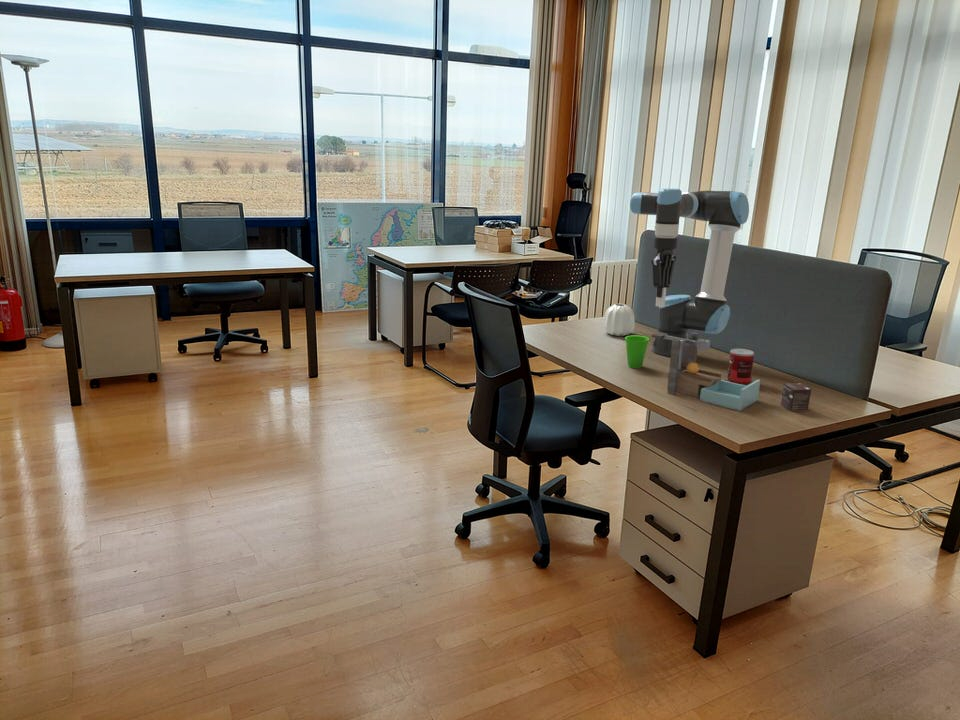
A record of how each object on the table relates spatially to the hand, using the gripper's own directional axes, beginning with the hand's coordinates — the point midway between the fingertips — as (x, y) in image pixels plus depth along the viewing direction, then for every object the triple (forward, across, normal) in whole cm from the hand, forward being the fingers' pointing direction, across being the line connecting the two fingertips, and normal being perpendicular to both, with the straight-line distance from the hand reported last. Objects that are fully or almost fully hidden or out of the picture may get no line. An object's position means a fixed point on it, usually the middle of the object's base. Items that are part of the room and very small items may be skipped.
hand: (660, 306), depth 233 cm
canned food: (+27, -22, +21) cm, 41 cm away
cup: (+28, -12, -15) cm, 34 cm away
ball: (+21, 0, +14) cm, 25 cm away
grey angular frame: (+27, 0, +14) cm, 31 cm away
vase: (+27, -50, -46) cm, 73 cm away
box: (+28, -8, +45) cm, 54 cm away
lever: (+21, 0, +9) cm, 23 cm away
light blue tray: (+27, 0, +27) cm, 39 cm away
